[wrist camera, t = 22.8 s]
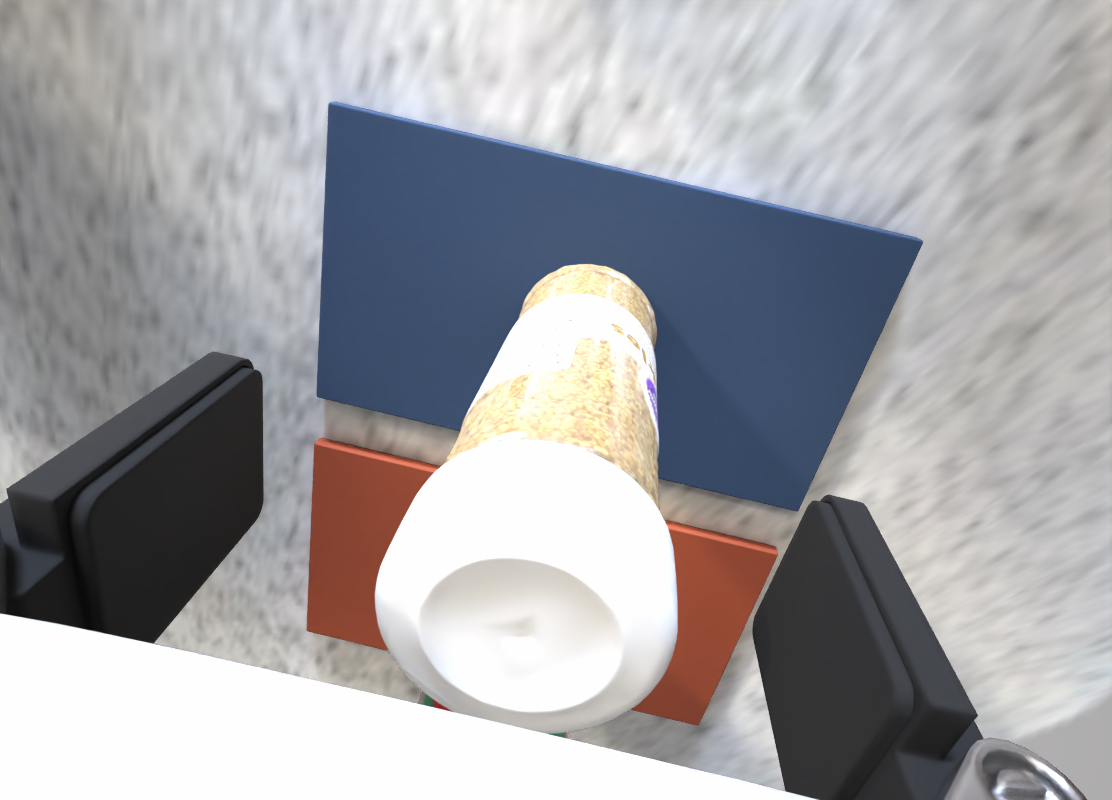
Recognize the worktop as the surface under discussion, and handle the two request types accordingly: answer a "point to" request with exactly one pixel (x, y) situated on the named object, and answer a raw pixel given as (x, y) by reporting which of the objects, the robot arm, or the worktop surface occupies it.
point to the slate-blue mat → (605, 240)
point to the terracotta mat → (381, 504)
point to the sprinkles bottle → (544, 525)
